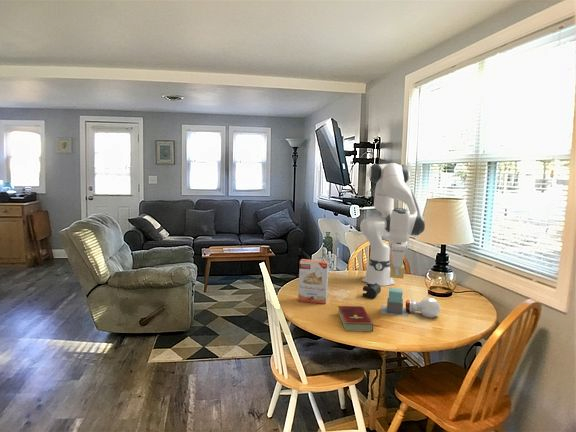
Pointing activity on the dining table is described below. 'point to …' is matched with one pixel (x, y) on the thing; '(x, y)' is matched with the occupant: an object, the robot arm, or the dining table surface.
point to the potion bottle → (424, 307)
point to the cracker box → (313, 281)
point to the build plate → (404, 313)
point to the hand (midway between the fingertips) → (397, 272)
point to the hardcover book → (355, 318)
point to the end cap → (371, 290)
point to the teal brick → (395, 295)
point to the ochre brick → (392, 272)
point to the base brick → (394, 307)
